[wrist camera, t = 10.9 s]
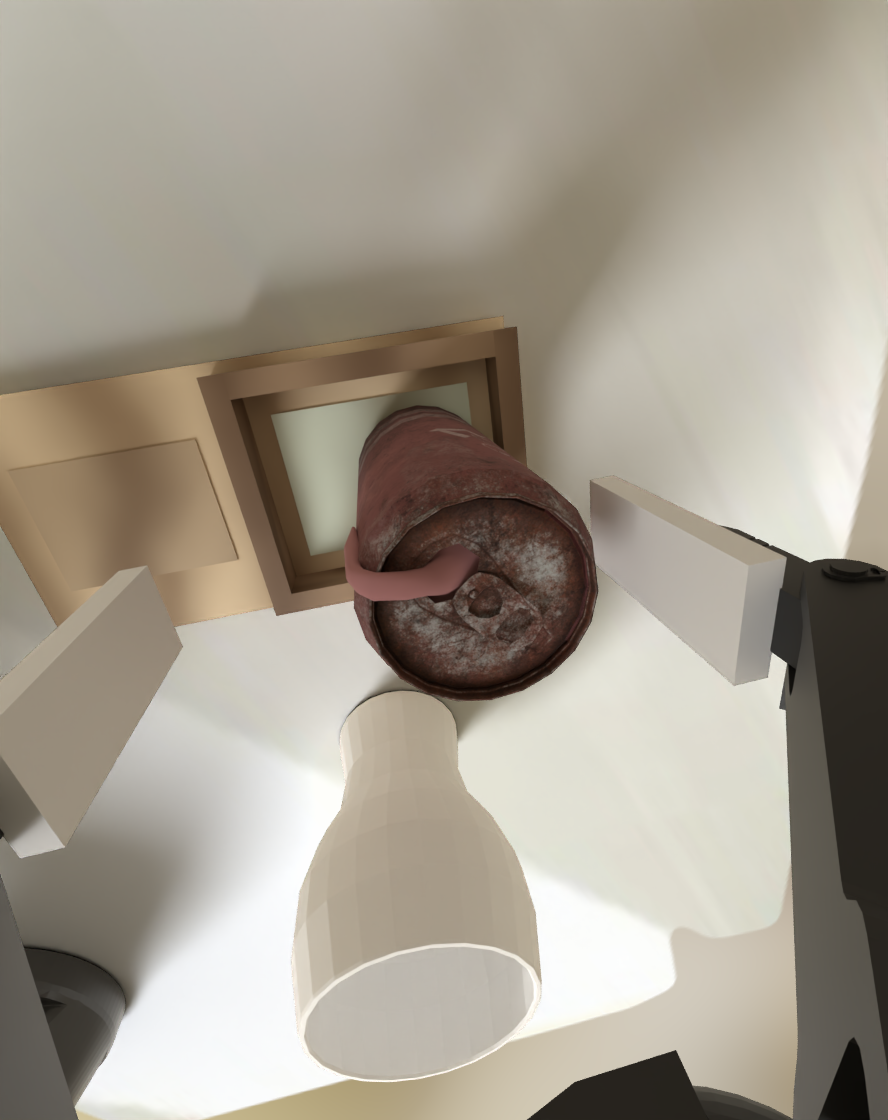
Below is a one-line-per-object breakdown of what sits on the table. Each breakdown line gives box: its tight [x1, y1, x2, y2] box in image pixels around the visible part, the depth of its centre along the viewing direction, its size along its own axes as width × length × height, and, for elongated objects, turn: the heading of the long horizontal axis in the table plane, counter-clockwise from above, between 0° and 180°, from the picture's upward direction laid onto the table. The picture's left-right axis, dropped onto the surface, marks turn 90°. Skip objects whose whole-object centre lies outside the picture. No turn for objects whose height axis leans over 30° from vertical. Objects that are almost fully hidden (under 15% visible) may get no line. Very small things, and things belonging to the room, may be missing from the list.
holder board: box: [0, 316, 527, 627], centre depth 23 cm, size 24×12×4 cm, turn 98°
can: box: [344, 405, 598, 701], centre depth 17 cm, size 6×6×14 cm
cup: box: [291, 691, 542, 1082], centre depth 26 cm, size 11×11×15 cm
